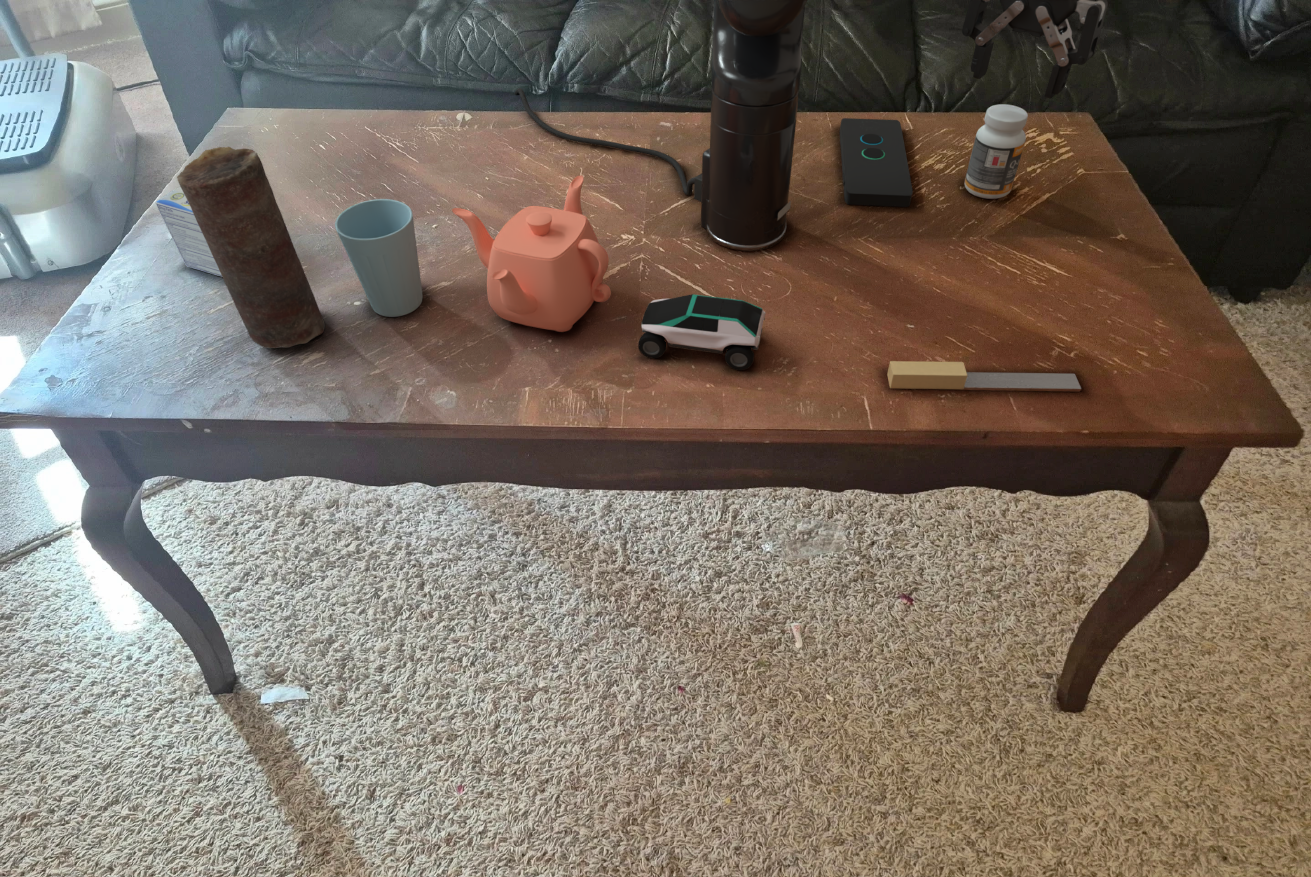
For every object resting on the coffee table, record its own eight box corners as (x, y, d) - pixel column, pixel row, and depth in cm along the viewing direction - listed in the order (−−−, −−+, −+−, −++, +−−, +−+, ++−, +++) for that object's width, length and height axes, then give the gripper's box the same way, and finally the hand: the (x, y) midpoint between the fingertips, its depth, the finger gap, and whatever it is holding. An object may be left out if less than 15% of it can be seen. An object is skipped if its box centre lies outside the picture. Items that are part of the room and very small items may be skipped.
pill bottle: (1012, 202, 108) (1035, 125, 101) (963, 198, 109) (983, 121, 102) (1008, 179, 112) (1030, 103, 105) (962, 175, 113) (981, 100, 105)
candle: (284, 367, 89) (208, 188, 74) (236, 343, 91) (153, 166, 77) (340, 326, 93) (278, 150, 79) (292, 304, 96) (224, 131, 82)
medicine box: (264, 263, 102) (237, 196, 95) (237, 284, 99) (207, 216, 93) (213, 247, 104) (184, 181, 98) (185, 267, 101) (152, 201, 95)
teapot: (509, 364, 88) (492, 273, 80) (468, 289, 97) (449, 201, 90) (640, 324, 92) (635, 233, 85) (588, 255, 102) (580, 168, 94)
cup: (403, 331, 92) (378, 246, 85) (346, 312, 95) (318, 228, 87) (446, 292, 97) (427, 208, 90) (391, 275, 100) (368, 192, 92)
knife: (890, 389, 85) (893, 375, 83) (886, 374, 86) (890, 360, 85) (1080, 391, 84) (1086, 377, 83) (1073, 376, 85) (1079, 362, 84)
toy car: (755, 373, 87) (759, 330, 83) (637, 357, 89) (635, 315, 85) (764, 336, 91) (767, 294, 87) (651, 321, 93) (649, 279, 89)
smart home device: (901, 118, 120) (915, 194, 106) (898, 130, 121) (912, 207, 107) (839, 116, 121) (845, 191, 107) (838, 128, 122) (843, 204, 108)
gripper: (975, -75, 91) (942, 81, 102) (1115, -49, 84) (1062, 114, 96) (1006, -92, 95) (970, 60, 106) (1141, -69, 88) (1088, 90, 100)
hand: (1014, 85), depth 101 cm, fingers open, 8 cm apart
